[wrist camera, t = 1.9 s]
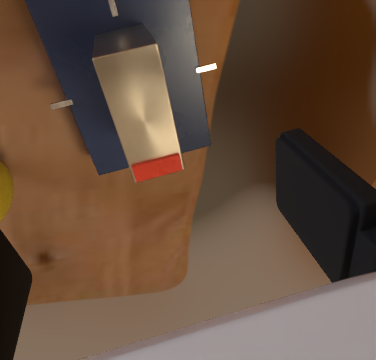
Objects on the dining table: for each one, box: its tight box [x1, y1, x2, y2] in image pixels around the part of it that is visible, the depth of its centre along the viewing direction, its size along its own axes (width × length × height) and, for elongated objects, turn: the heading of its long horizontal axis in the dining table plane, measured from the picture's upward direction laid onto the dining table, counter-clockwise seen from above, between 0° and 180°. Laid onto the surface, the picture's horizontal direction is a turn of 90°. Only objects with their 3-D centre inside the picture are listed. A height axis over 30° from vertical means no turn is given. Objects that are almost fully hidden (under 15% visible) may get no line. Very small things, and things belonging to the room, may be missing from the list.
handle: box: [92, 24, 185, 183], centre depth 18 cm, size 7×3×6 cm, turn 10°
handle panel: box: [25, 0, 216, 175], centre depth 22 cm, size 12×11×3 cm
